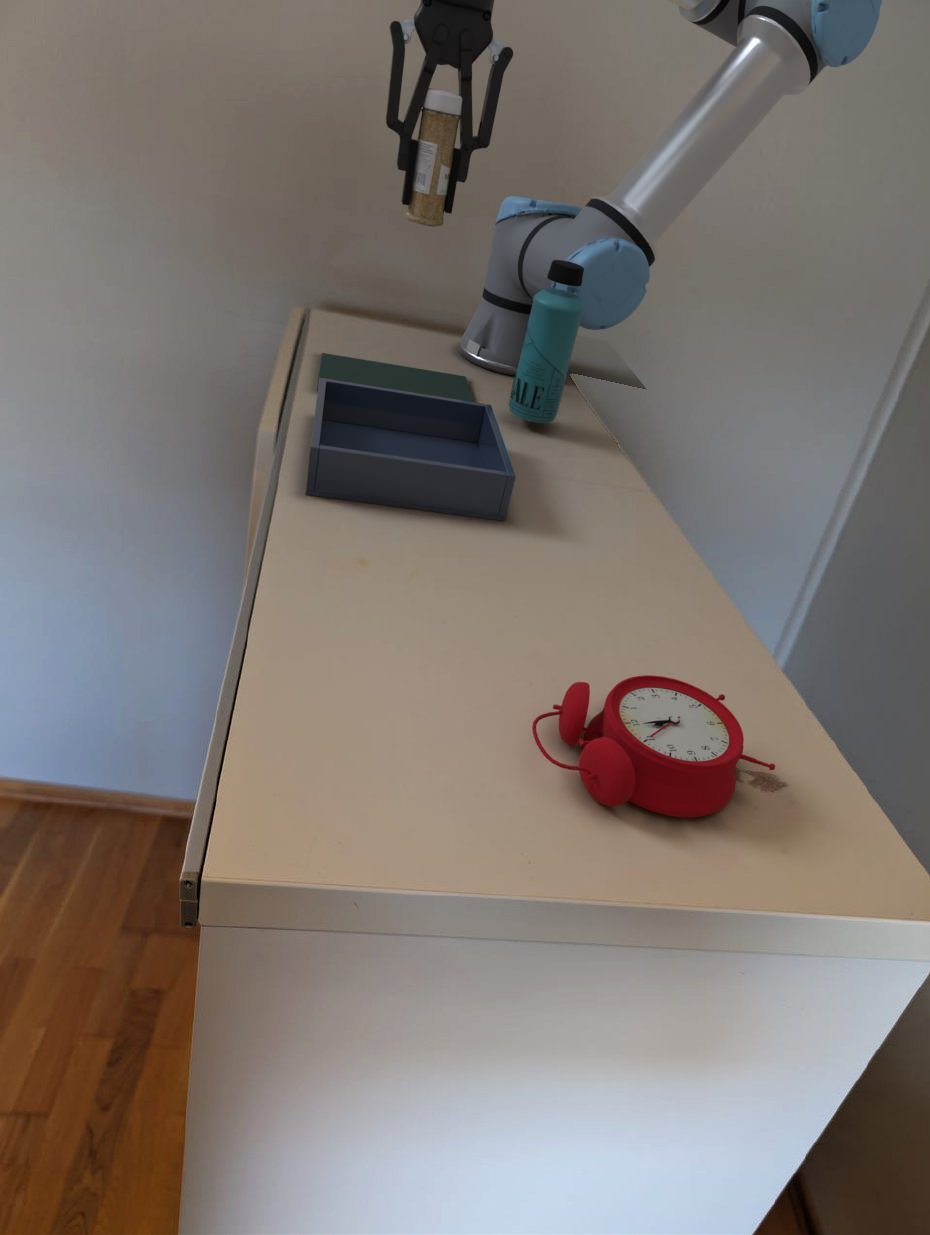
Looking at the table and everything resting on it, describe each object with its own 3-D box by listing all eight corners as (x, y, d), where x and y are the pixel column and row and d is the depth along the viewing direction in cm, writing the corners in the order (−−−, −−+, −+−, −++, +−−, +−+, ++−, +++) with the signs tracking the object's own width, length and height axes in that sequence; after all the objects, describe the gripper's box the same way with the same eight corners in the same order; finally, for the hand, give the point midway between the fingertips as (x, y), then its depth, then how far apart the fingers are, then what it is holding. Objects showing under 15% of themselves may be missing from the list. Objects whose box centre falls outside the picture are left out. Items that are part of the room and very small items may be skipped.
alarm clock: (798, 776, 54) (602, 739, 48) (743, 844, 57) (552, 816, 51) (720, 674, 62) (546, 631, 56) (676, 738, 65) (505, 703, 59)
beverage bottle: (553, 421, 113) (595, 263, 103) (553, 439, 108) (597, 273, 97) (505, 410, 113) (542, 251, 103) (502, 428, 108) (540, 260, 97)
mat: (465, 380, 121) (465, 376, 120) (475, 416, 109) (476, 412, 109) (321, 356, 117) (322, 352, 117) (316, 391, 105) (317, 387, 105)
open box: (482, 444, 102) (491, 404, 99) (505, 521, 85) (516, 476, 83) (315, 419, 98) (319, 377, 95) (305, 494, 82) (310, 446, 79)
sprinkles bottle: (448, 229, 101) (471, 98, 94) (413, 224, 99) (433, 89, 92) (433, 220, 104) (454, 92, 97) (398, 215, 102) (417, 84, 95)
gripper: (380, -64, 83) (351, 198, 96) (551, -21, 87) (502, 226, 99) (378, -58, 89) (351, 188, 102) (538, -18, 93) (493, 215, 105)
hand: (426, 206), depth 100 cm, fingers closed on sprinkles bottle, 4 cm apart
